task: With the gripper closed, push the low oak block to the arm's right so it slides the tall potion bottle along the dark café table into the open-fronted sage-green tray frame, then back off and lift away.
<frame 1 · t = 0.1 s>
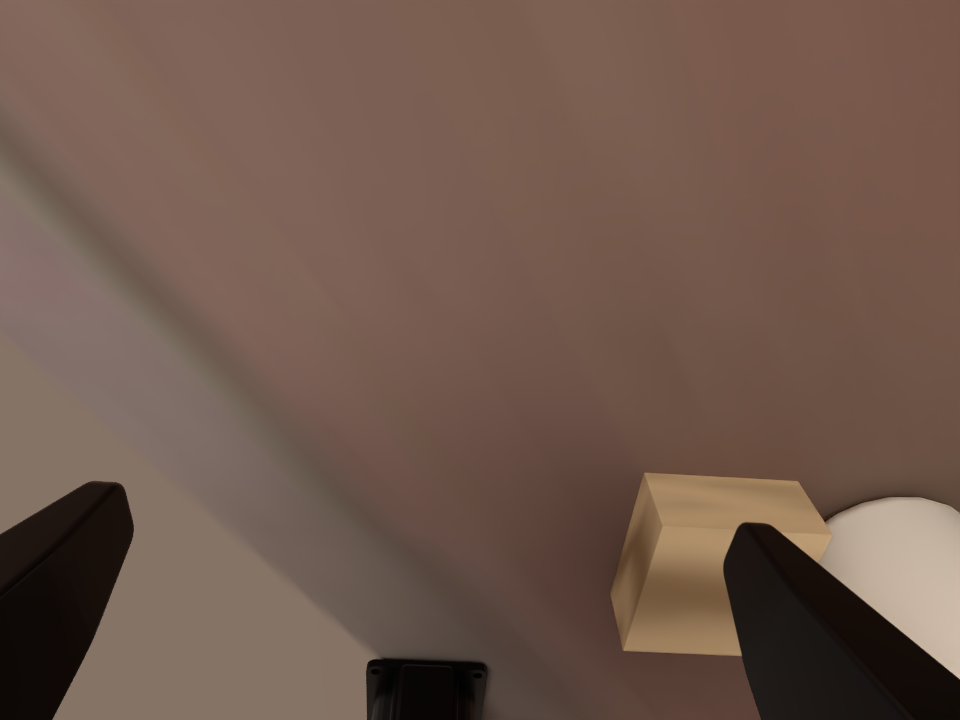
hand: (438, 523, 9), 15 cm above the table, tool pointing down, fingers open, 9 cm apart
potion bottle: (868, 546, 31), on the table
oak block: (696, 536, 30), on the table
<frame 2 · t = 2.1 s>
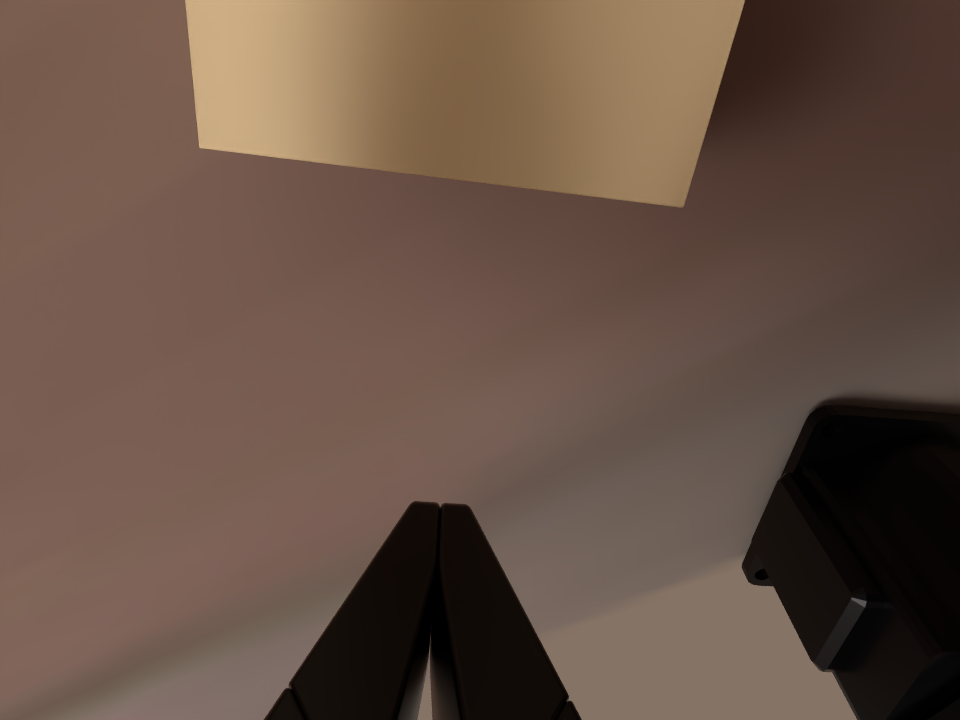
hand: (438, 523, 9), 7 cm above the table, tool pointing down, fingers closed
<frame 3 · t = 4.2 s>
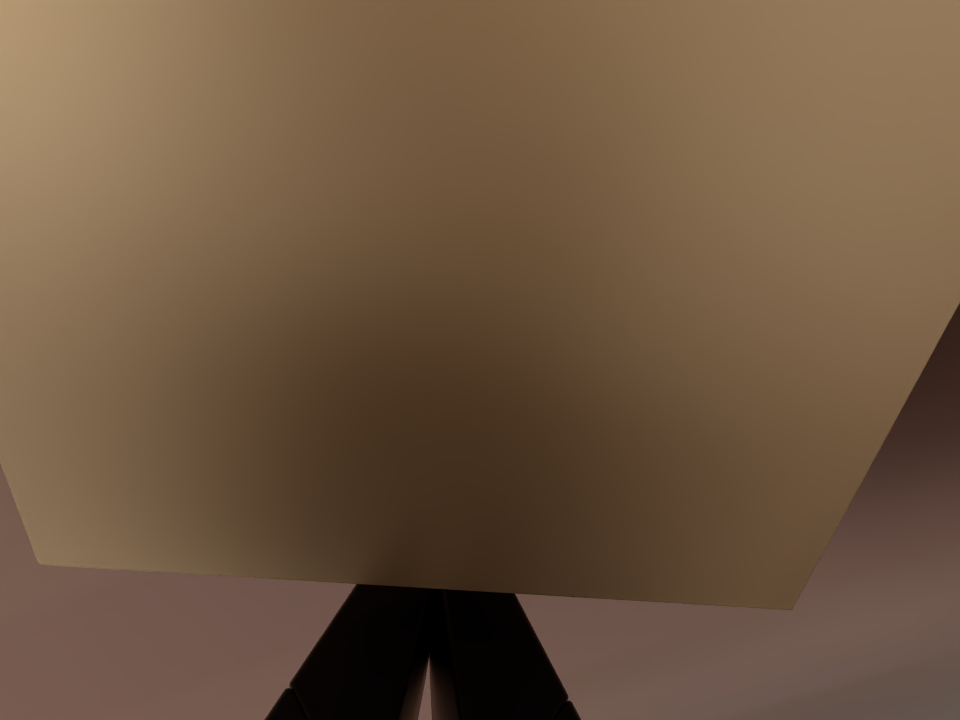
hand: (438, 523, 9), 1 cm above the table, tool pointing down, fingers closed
oak block: (461, 170, 8), on the table
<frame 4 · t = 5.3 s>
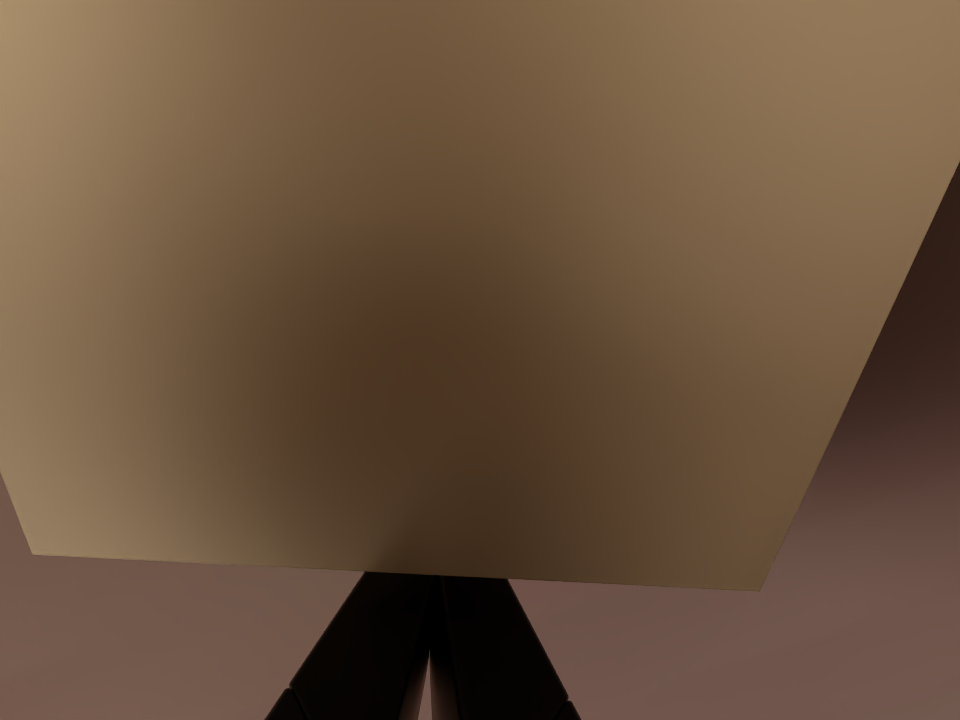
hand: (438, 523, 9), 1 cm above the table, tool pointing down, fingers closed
oak block: (438, 172, 8), on the table, touching gripper
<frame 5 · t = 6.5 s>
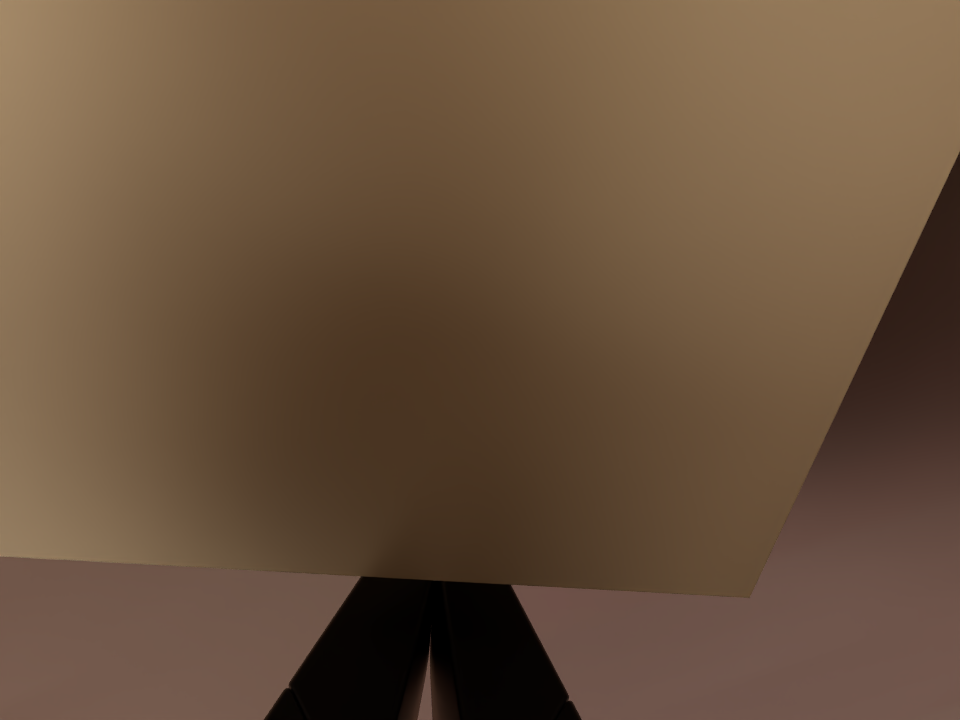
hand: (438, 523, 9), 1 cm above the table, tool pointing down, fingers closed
oak block: (423, 164, 8), on the table
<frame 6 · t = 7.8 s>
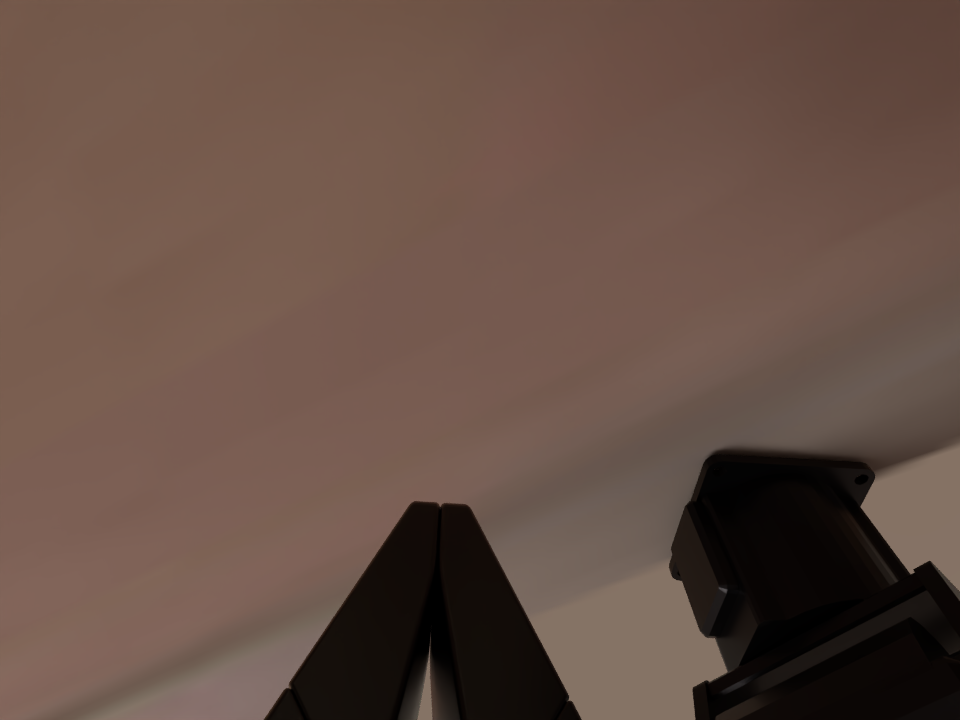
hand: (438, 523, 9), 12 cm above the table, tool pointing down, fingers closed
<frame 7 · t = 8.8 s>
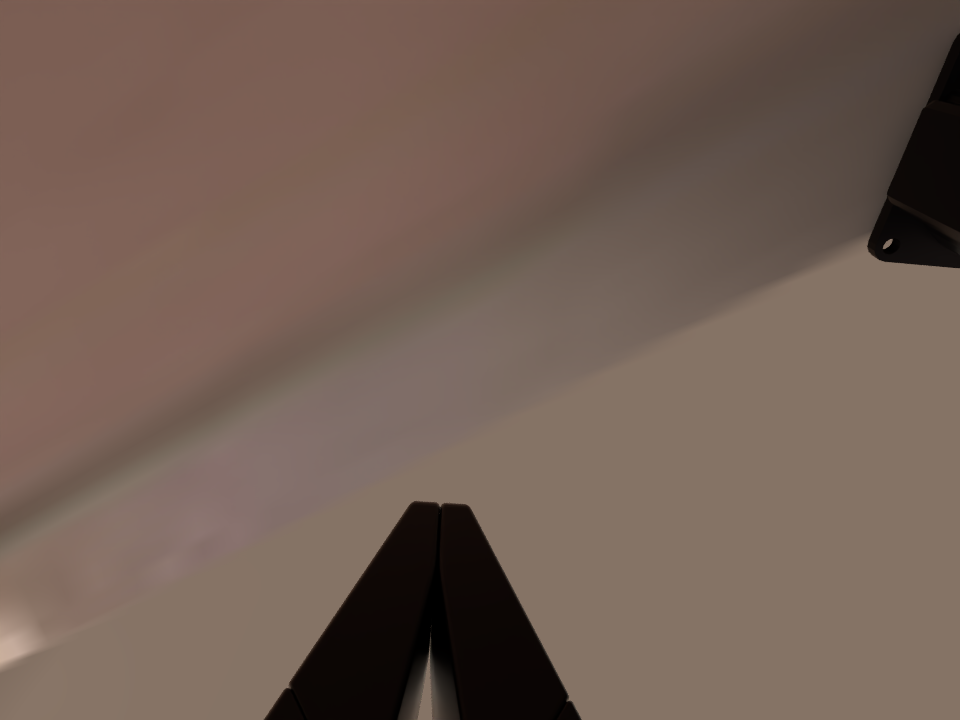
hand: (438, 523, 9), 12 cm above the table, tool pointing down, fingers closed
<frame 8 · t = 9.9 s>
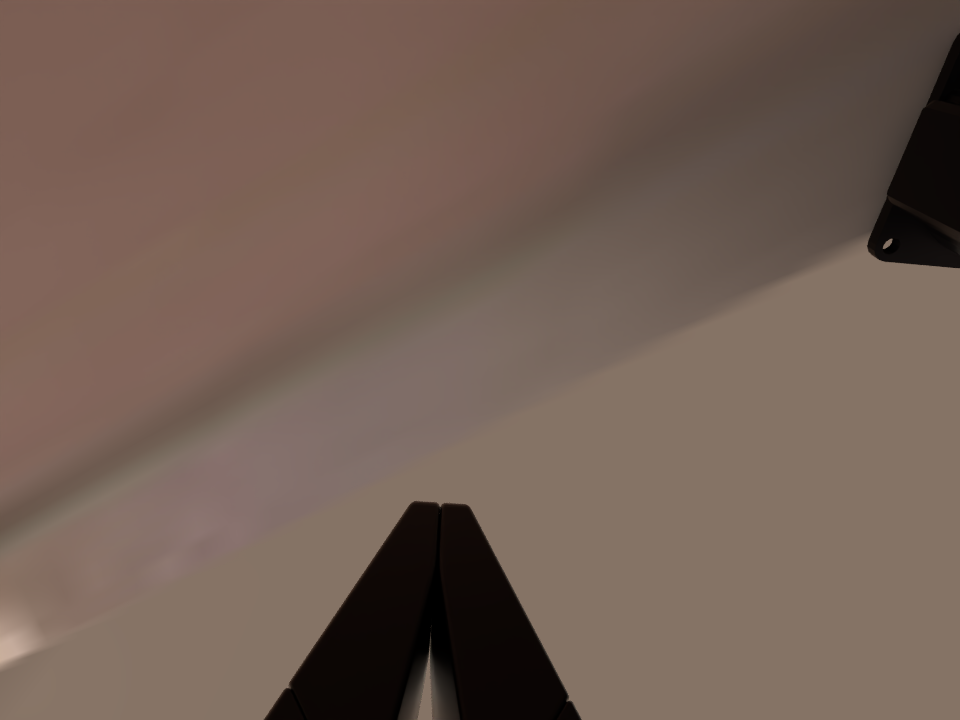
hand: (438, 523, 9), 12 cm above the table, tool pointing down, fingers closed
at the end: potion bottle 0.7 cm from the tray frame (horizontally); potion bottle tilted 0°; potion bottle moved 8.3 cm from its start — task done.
